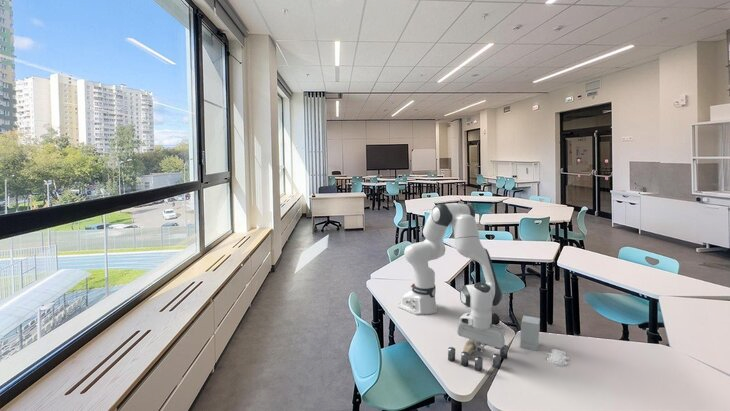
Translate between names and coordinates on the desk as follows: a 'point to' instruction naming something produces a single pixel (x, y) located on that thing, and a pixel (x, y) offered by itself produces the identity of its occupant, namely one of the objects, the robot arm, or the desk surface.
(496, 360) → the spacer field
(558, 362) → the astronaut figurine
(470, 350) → the bone fragment
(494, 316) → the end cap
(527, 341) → the supplement box
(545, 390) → the desk surface
